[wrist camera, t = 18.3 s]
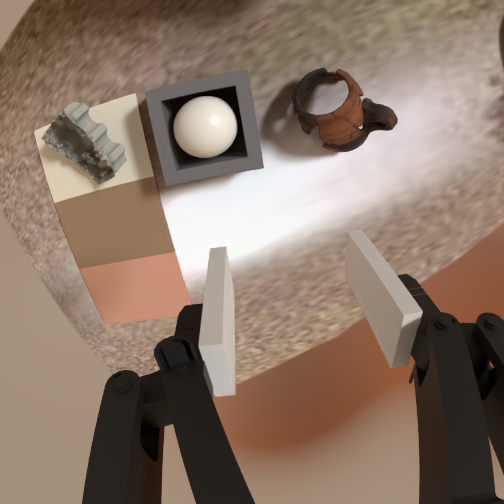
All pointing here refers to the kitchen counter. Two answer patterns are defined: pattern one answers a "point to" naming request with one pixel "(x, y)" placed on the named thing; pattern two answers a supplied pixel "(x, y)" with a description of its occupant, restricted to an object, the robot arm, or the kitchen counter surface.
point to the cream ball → (205, 126)
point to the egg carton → (85, 142)
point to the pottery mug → (343, 114)
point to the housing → (203, 167)
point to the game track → (118, 223)
